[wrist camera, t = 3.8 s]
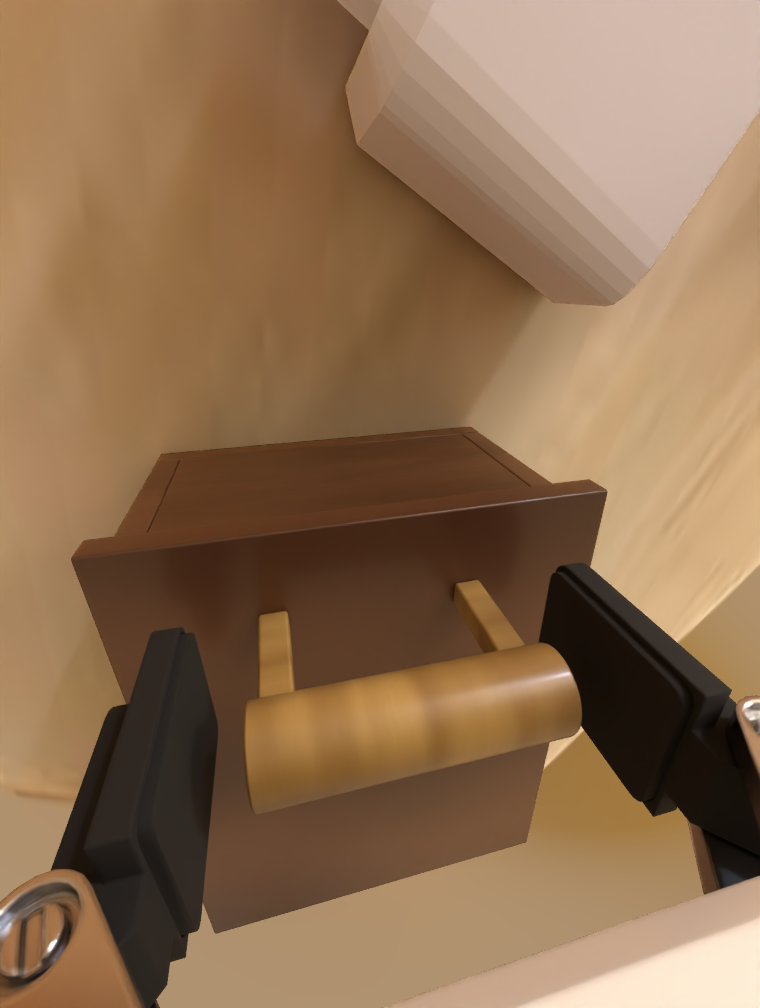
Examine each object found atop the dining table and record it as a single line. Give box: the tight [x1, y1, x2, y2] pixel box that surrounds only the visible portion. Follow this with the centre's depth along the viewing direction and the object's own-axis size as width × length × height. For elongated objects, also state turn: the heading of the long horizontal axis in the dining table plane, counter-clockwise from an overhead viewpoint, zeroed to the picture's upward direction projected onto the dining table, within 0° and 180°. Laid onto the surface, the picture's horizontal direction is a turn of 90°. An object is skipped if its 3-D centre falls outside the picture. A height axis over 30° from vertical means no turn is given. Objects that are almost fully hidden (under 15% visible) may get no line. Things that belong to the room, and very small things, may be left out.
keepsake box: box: [114, 427, 552, 537], centre depth 18 cm, size 16×13×8 cm
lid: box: [71, 480, 607, 933], centre depth 13 cm, size 16×13×5 cm
